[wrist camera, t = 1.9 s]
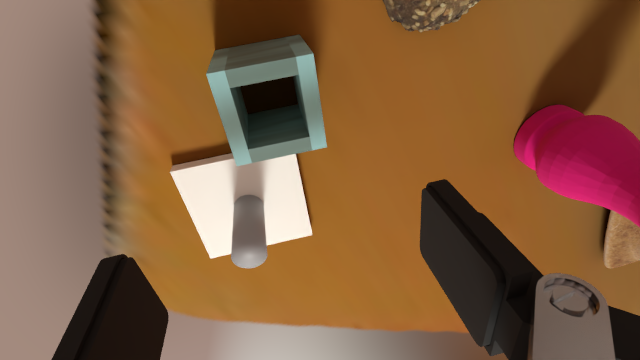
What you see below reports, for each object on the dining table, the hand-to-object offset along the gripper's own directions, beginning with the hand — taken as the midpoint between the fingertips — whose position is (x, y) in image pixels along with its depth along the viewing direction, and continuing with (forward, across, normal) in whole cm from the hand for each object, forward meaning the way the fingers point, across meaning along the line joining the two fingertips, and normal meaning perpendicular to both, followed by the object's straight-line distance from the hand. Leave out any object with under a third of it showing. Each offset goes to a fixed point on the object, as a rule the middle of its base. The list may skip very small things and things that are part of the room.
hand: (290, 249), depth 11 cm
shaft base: (+17, +4, +10) cm, 20 cm away
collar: (+17, 0, 0) cm, 17 cm away
